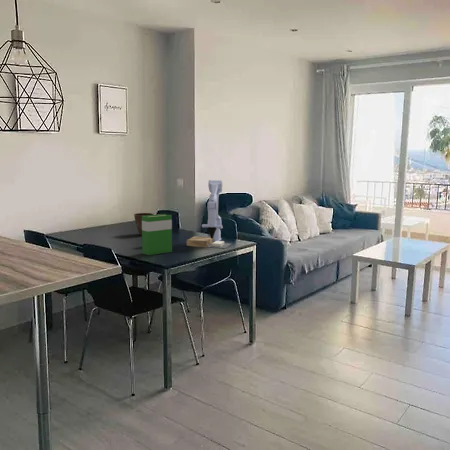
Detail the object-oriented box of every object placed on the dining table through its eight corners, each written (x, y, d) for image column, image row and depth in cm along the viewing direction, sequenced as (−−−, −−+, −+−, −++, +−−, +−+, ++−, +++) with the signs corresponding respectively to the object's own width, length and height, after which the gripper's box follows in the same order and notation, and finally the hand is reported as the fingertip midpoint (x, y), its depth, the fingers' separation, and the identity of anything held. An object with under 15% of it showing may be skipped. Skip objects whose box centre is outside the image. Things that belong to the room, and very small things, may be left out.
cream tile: (224, 241, 331) (224, 244, 331) (216, 240, 332) (216, 243, 333) (220, 243, 322) (220, 246, 322) (212, 243, 324) (212, 246, 324)
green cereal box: (165, 249, 313) (165, 213, 309) (172, 251, 307) (171, 214, 304) (142, 253, 302) (141, 215, 298) (148, 255, 296) (147, 217, 292)
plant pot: (155, 235, 364) (155, 215, 361) (136, 236, 358) (136, 215, 356) (151, 232, 378) (151, 212, 375) (132, 233, 372) (132, 213, 370)
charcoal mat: (213, 243, 337) (213, 242, 337) (231, 244, 334) (231, 243, 334) (206, 247, 322) (206, 246, 322) (224, 248, 318) (224, 247, 318)
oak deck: (194, 241, 341) (194, 236, 341) (213, 242, 337) (213, 237, 337) (186, 245, 326) (186, 240, 326) (205, 247, 322) (205, 241, 322)
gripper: (200, 218, 325) (200, 238, 327) (220, 220, 321) (220, 239, 323) (203, 217, 331) (203, 236, 334) (223, 218, 327) (223, 238, 329)
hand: (212, 238), depth 329 cm, fingers closed
